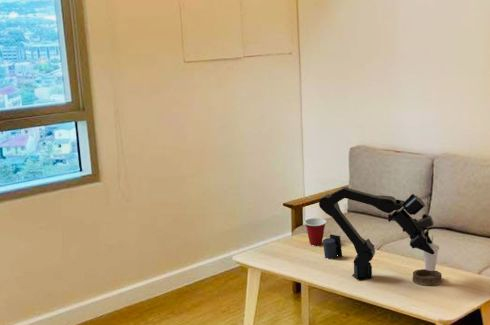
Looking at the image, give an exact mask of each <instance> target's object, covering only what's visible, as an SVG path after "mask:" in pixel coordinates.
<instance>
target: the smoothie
mask: <svg viewBox="0 0 490 325" xmlns="http://www.w3.org/2000/svg"><path fill="white" fill-rule="evenodd" d="M431 240H432V244H429V245H430V247H431V248H432V249H433V251H434V252H435V253H434V254H433V255H432V254H430V253H428V252H425V251H423V259H424V267H425V268H424V269H426V270H428V271H434V270H435V271H436V266H437V260H438V256H439V255H438V254H439V250H440V246H439V245H438V244H435V243H434V235H433V234H432V235H431Z"/></svg>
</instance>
